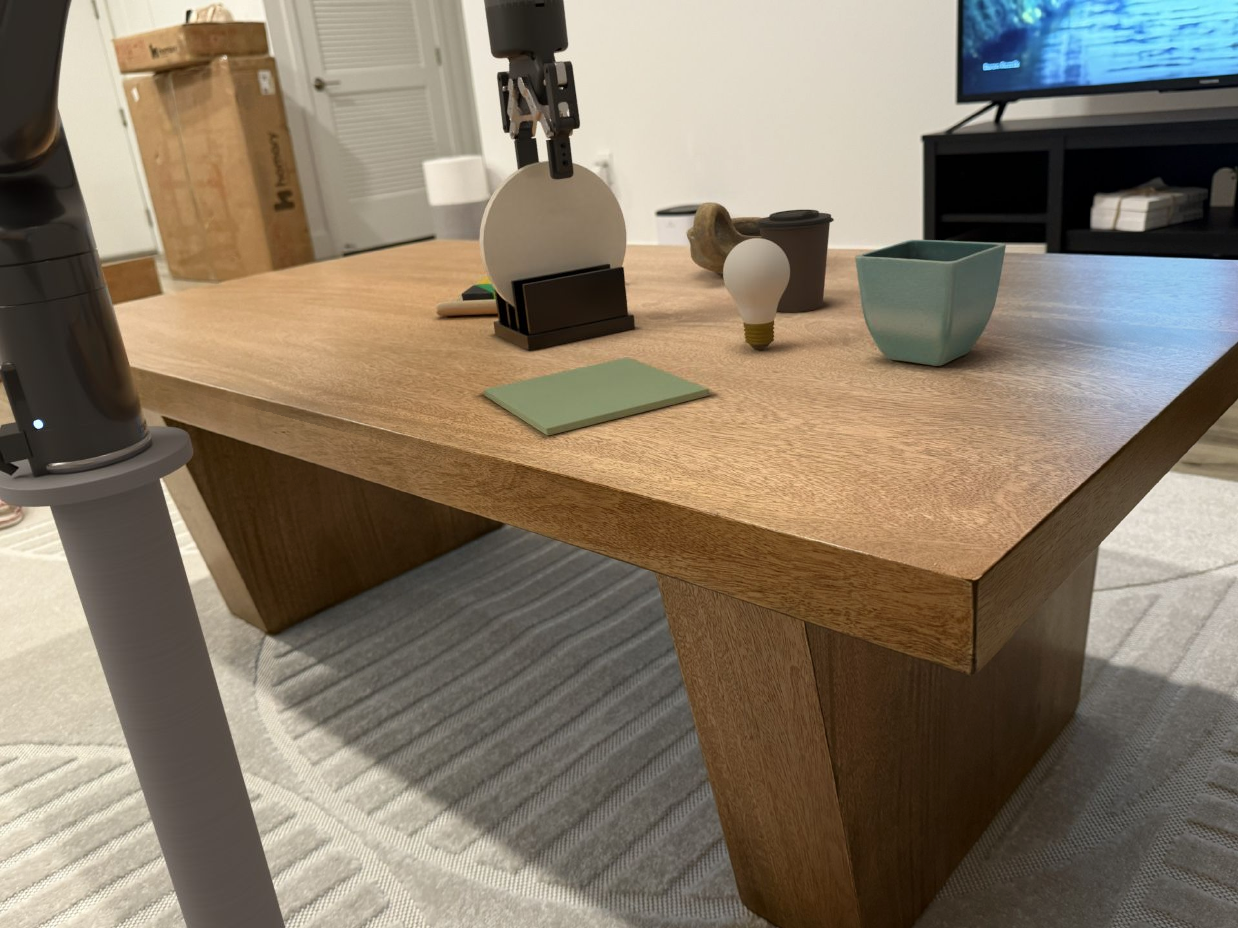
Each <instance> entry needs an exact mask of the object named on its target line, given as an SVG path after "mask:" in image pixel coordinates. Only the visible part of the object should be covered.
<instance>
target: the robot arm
mask: <svg viewBox="0 0 1238 928" xmlns="http://www.w3.org/2000/svg"><path fill="white" fill-rule="evenodd" d="M72 1H73V0H0V379H1V382H2V385H3V388H4V391H5V394H6V397H7V401H8V404H9V406H10V409H11V413H12V416H13V418H14V422H8V423H4V424H3V423H2V424H0V471H2V472H4V473H6V474H8V475H10V476H12V475H13V474H14V473H15V472H16V471H17V470H18V469H19V467H18V466H16V465H14V464H12V462H16V461H21V460H26V459H28V461H29V464H30V467H31V471H32V474H33V477H41V476H46V475H59V474H72V473H79V472H85V471H90V470H95V469H99V468H103V467H107V466H111V465H114V464H117V463H120V462H123V461H126V460H128V459H131V458H133V457H135V456H137V455H139V454H141V453H143V452H145V451H146V450H148V449H149V448H150V447H151V446H152V444H153V442H152V438H151V435H150V431H149V430H148V428H147V426H148V423H147V419H146V418H145V414H144V411H143V407H142V403H141V400H140V397H139V393H138V389H137V385H136V381H135V379H134V375H133V372H132V367H131V364H130V361H129V357H128V354H127V350H126V347H125V342H124V339H123V336H122V331H121V328H120V326H119V322H118V317H117V315H116V310H115V307H114V304H113V300H112V297H111V294H110V290H109V285H108V282H107V279H106V276H105V271H104V269H103V264H102V261H101V258H100V253H99V249H98V248H97V247H98V246H97V243H96V240H95V235H94V232H93V227H92V223H91V220H90V215H89V213H88V208H87V205H86V202H85V198H84V194H83V192H82V189H81V185H80V182H79V178H78V174H77V170H76V167H75V163H74V159H73V156H72V153H71V149H70V145H69V141H68V138H67V134H66V130H65V127H64V124H63V120H62V117H61V112H60V109H59V90H60V78H61V70H62V69H61V67H62V61H63V60H62V59H63V52H64V45H65V39H66V38H65V36H66V30H67V24H68V19H69V15H70V14H69V13H70V8H71V5H72ZM483 3H484V12H485V19H486V26H487V33H488V40H489V46H490V53H491V56H492V57H493V58H495V59H507V60H508V70H506V71H498V72H497V74H496V81H497V88H498V98H499V106H500V114H501V115H500V116H501V124H502V130H503V133H504V134H509V136H510V139H511V140H512V141H513V144H514V151H515V159H516V167H517V170H518V169H520V168H522V167H524V166H526V165H529V164H532V163H535V162H540V159H539V157H540V156H539V149H538V142H537V138H536V134H537V127H538V122H539V123H540V124H541V127H542V130H543V132H544V135H545V137H546V139H545V143H546V151H547V152H546V154H547V161H548V162H549V170H550V176H551V178H552V179H556V180H558V179H565V178H571V177H572V176H573V174H574V171H573V163H574V162H573V154H572V147H571V138H570V137H572V136H573V135H574V130H577V129H580V127H581V120H580V111H579V104H578V99H577V98H578V97H577V90H576V82H575V73H574V68H573V63H572V61H571V60H565V61H563V60H561V61H556V57H555V54H558V53H563V52H566V51H567V50H568V48H569V37H568V29H567V19H566V11H565V10H566V9H565V1H564V0H483Z"/></svg>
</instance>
